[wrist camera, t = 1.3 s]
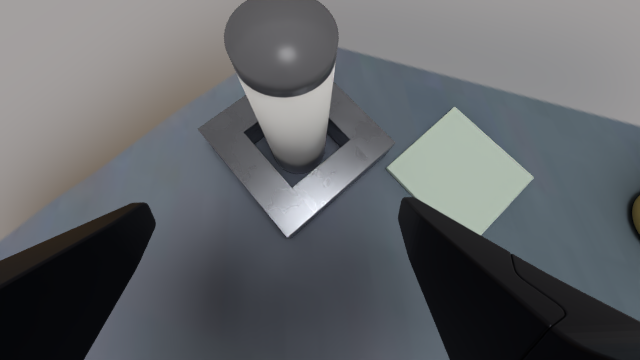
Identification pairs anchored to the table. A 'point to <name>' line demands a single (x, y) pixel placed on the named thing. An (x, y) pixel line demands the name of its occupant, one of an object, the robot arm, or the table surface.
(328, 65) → the plug
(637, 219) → the bark textured cylinder
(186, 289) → the table surface
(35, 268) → the robot arm
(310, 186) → the frame
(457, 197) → the mat
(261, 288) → the table surface
